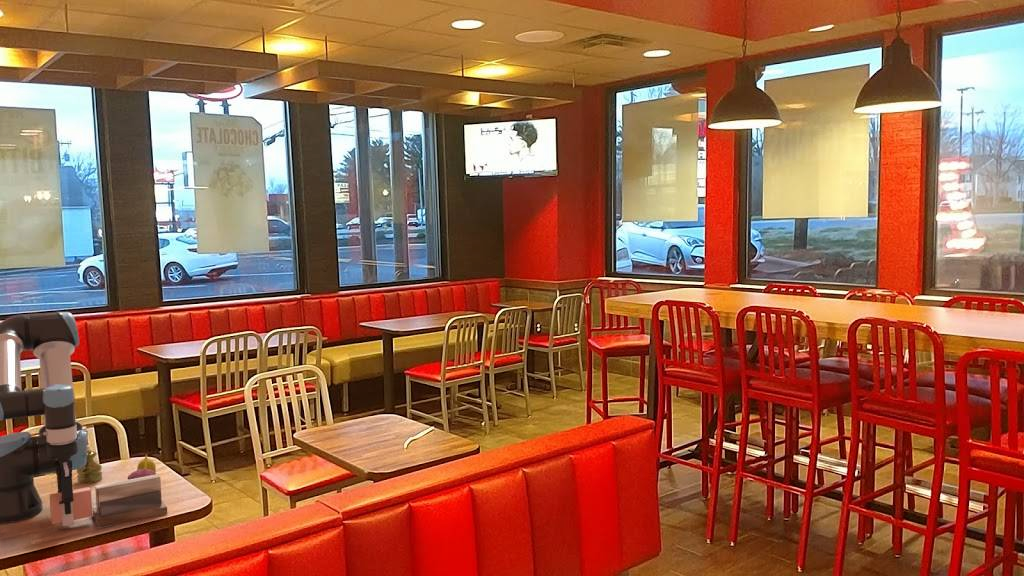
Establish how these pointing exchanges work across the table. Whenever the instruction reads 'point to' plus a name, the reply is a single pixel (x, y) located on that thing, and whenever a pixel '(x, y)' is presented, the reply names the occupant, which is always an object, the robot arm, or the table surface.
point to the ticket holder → (128, 501)
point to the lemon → (149, 465)
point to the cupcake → (142, 472)
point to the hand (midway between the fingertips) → (67, 522)
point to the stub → (80, 505)
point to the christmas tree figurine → (89, 470)
